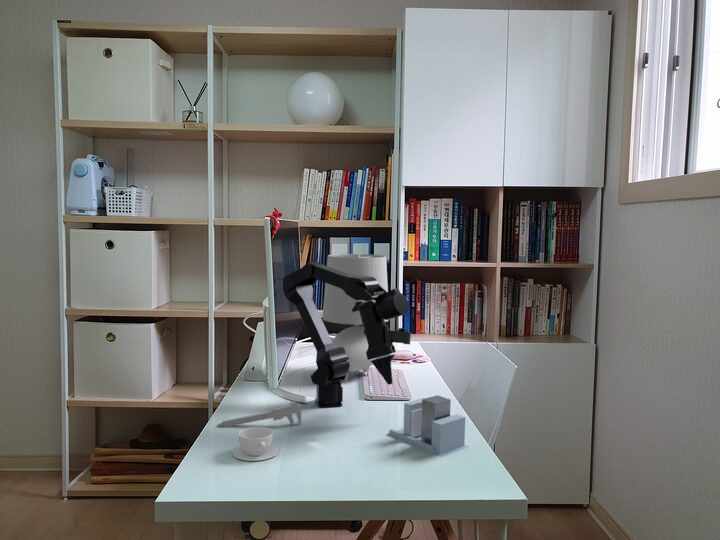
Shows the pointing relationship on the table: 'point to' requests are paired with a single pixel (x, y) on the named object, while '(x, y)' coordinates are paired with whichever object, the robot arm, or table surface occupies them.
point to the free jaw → (413, 418)
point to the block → (433, 415)
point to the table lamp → (352, 305)
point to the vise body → (440, 436)
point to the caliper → (267, 416)
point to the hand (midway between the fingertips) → (390, 384)
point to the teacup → (255, 444)
